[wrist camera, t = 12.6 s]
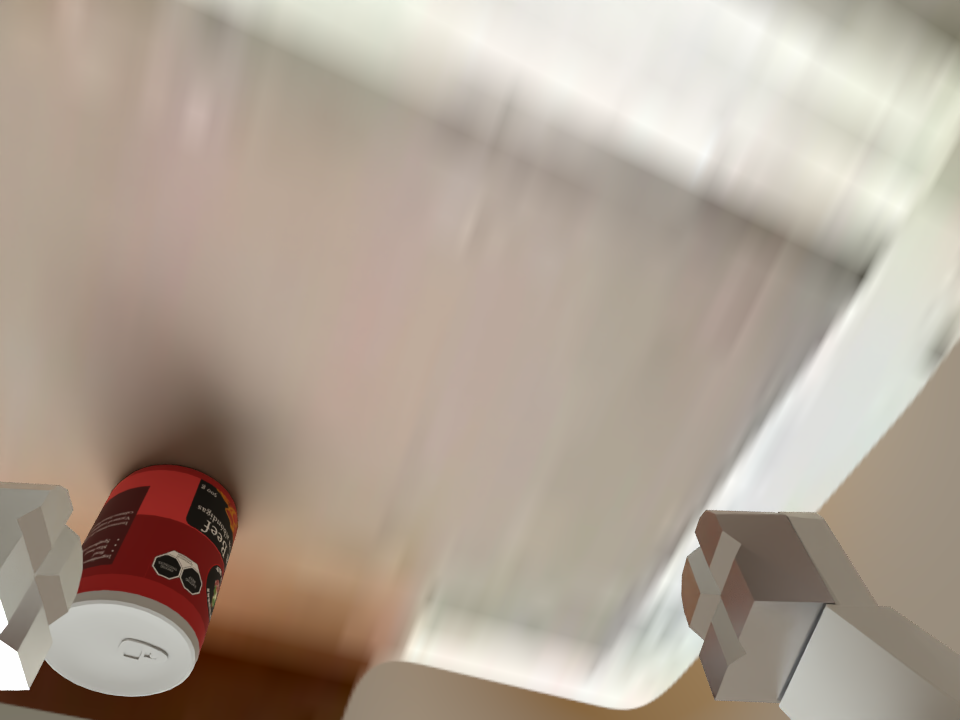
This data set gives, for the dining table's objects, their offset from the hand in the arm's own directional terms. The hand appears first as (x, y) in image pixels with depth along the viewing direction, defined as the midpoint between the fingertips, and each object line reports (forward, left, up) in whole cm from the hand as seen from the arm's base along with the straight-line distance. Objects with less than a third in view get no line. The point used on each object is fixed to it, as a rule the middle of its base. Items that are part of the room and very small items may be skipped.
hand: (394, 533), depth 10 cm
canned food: (-14, -28, -31) cm, 44 cm away
